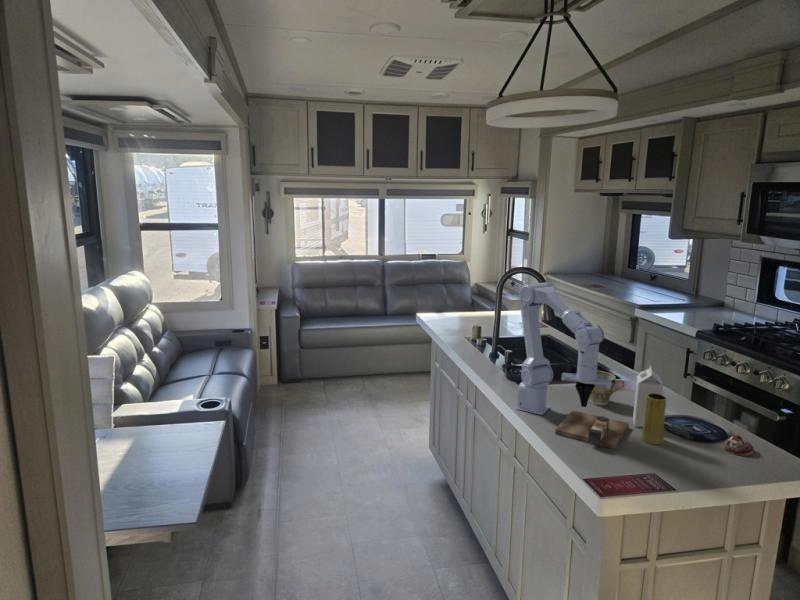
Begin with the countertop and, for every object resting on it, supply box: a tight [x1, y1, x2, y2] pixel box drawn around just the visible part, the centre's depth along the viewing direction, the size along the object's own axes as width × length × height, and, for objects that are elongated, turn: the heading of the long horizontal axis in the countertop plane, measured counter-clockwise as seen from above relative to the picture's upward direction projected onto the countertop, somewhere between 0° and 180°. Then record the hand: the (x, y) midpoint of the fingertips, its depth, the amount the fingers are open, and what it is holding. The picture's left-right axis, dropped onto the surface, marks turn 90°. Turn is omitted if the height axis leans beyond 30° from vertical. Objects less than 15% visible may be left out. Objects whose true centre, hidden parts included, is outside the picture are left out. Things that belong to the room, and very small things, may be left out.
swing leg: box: [588, 415, 610, 443], centre depth 167 cm, size 13×4×3 cm, turn 148°
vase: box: [641, 393, 667, 445], centre depth 166 cm, size 6×6×14 cm
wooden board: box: [554, 409, 630, 450], centre depth 173 cm, size 18×18×2 cm
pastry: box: [721, 434, 755, 457], centre depth 160 cm, size 8×8×5 cm
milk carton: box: [632, 365, 664, 428], centre depth 176 cm, size 7×7×19 cm
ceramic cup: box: [588, 370, 625, 406], centre depth 194 cm, size 13×10×10 cm
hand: (584, 405), depth 170 cm, fingers closed
